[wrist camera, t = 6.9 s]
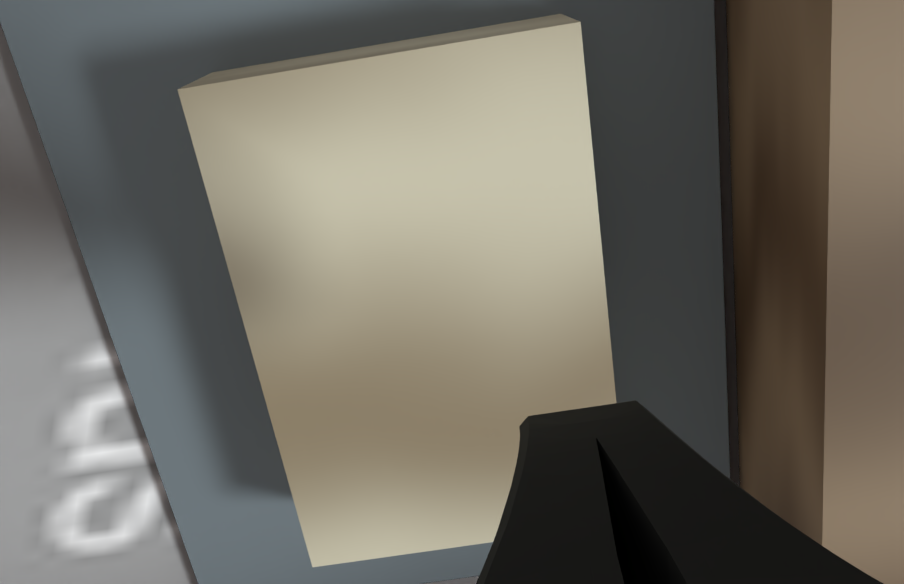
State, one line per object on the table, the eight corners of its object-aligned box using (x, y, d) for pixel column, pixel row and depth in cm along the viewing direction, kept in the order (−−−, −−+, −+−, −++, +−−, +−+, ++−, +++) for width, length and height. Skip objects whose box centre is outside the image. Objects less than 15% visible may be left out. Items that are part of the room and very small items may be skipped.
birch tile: (312, 567, 15) (325, 502, 17) (627, 523, 15) (607, 461, 17) (177, 89, 12) (211, 72, 14) (580, 21, 12) (561, 13, 14)
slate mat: (727, 531, 18) (732, 541, 18) (212, 603, 19) (208, 613, 18) (701, -179, 13) (707, -182, 13) (-17, -52, 13) (-27, -52, 13)
